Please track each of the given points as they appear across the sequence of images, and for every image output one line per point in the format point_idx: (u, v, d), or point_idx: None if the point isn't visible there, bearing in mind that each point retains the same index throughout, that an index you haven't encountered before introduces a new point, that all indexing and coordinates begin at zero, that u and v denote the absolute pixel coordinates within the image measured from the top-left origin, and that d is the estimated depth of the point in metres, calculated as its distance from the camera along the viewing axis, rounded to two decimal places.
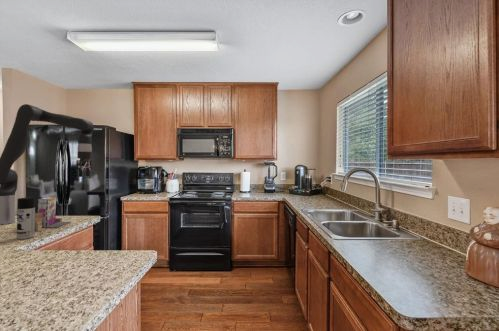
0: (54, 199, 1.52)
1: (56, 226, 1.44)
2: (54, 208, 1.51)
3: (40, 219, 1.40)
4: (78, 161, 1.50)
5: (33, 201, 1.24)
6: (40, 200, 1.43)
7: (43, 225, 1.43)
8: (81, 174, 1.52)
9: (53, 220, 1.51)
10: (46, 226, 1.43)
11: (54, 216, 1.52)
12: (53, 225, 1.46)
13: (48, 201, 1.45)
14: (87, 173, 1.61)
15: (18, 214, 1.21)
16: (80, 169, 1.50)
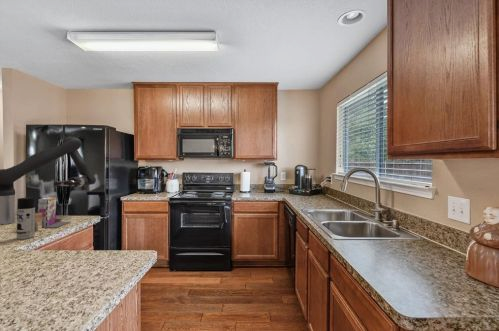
0: (54, 199, 1.52)
1: (56, 226, 1.44)
2: (54, 208, 1.51)
3: (40, 219, 1.40)
4: (81, 182, 1.72)
5: (33, 201, 1.24)
6: (40, 200, 1.43)
7: (43, 225, 1.43)
8: (71, 185, 1.64)
9: (53, 220, 1.51)
10: (46, 226, 1.43)
11: (54, 216, 1.52)
12: (53, 225, 1.46)
13: (48, 201, 1.45)
14: (57, 183, 1.63)
15: (18, 214, 1.21)
16: (77, 185, 1.67)
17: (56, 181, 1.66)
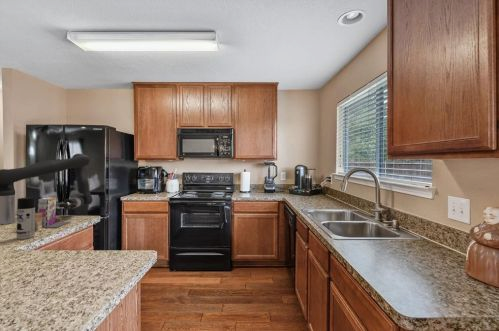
0: (54, 199, 1.52)
1: (56, 226, 1.44)
2: (54, 208, 1.51)
3: (40, 219, 1.40)
4: (77, 204, 1.68)
5: (33, 201, 1.24)
6: (40, 200, 1.43)
7: (43, 225, 1.43)
8: (67, 208, 1.60)
9: (53, 220, 1.51)
10: (46, 226, 1.43)
11: (54, 216, 1.52)
12: (53, 225, 1.46)
13: (48, 201, 1.45)
14: None
15: (18, 214, 1.21)
16: (73, 208, 1.63)
17: None
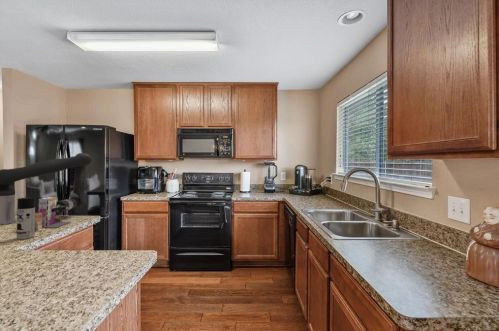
0: (55, 199, 1.52)
1: (56, 226, 1.44)
2: None
3: (40, 219, 1.40)
4: (67, 207, 1.57)
5: (33, 201, 1.24)
6: (41, 200, 1.43)
7: (43, 224, 1.43)
8: (54, 211, 1.49)
9: (53, 220, 1.51)
10: (46, 226, 1.43)
11: (54, 216, 1.52)
12: (53, 225, 1.46)
13: (49, 201, 1.45)
14: None
15: (18, 214, 1.21)
16: (61, 211, 1.53)
17: None
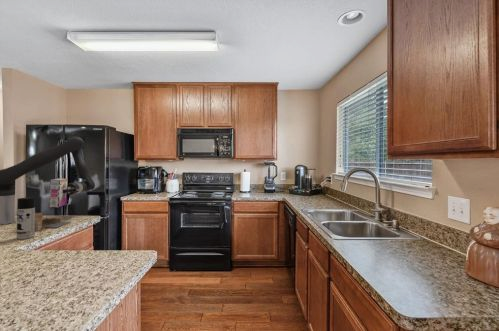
0: (66, 180, 1.52)
1: (56, 226, 1.44)
2: None
3: (40, 219, 1.40)
4: (78, 189, 1.58)
5: (33, 201, 1.24)
6: (52, 180, 1.43)
7: (55, 205, 1.44)
8: (65, 192, 1.50)
9: (64, 201, 1.52)
10: (46, 226, 1.43)
11: (65, 197, 1.53)
12: (53, 225, 1.46)
13: (60, 182, 1.45)
14: None
15: (18, 214, 1.21)
16: (72, 192, 1.53)
17: None
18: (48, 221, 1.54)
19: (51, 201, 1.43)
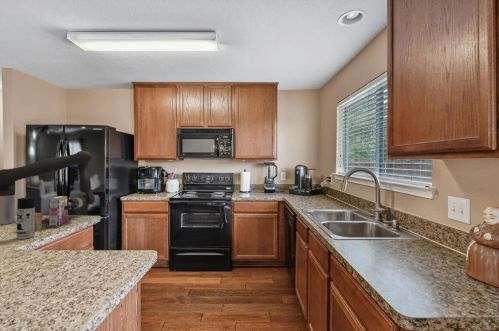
0: (65, 198, 1.52)
1: (56, 226, 1.44)
2: None
3: (40, 219, 1.40)
4: (78, 205, 1.58)
5: (33, 201, 1.24)
6: (52, 199, 1.43)
7: (54, 223, 1.44)
8: (67, 208, 1.50)
9: (64, 219, 1.52)
10: (46, 226, 1.43)
11: (65, 215, 1.53)
12: None
13: (59, 200, 1.45)
14: None
15: (18, 214, 1.21)
16: (74, 208, 1.53)
17: None
18: (48, 221, 1.54)
19: (51, 220, 1.43)
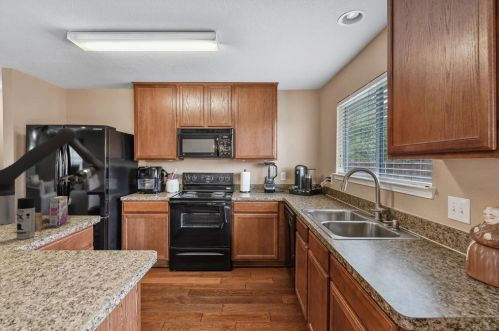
0: (65, 198, 1.52)
1: (56, 226, 1.44)
2: (65, 207, 1.52)
3: (40, 219, 1.40)
4: (85, 180, 1.68)
5: (33, 201, 1.24)
6: (52, 199, 1.43)
7: (54, 223, 1.44)
8: (73, 185, 1.61)
9: (64, 219, 1.52)
10: (46, 226, 1.43)
11: (65, 215, 1.53)
12: None
13: (60, 200, 1.45)
14: (60, 181, 1.61)
15: (18, 214, 1.21)
16: (80, 184, 1.64)
17: (61, 176, 1.64)
18: (48, 221, 1.54)
19: (51, 220, 1.43)
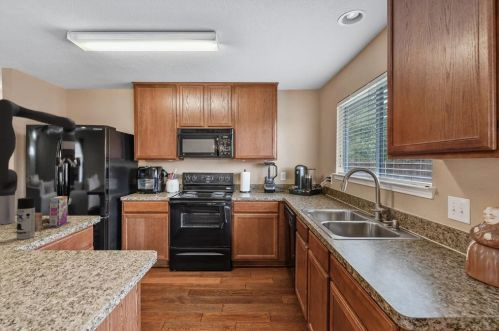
0: (65, 198, 1.52)
1: (56, 226, 1.44)
2: (65, 207, 1.52)
3: (40, 219, 1.40)
4: (79, 158, 1.66)
5: (33, 201, 1.24)
6: (52, 199, 1.43)
7: (54, 223, 1.44)
8: None
9: (64, 219, 1.52)
10: (46, 226, 1.43)
11: (65, 215, 1.53)
12: None
13: (60, 200, 1.45)
14: (61, 170, 1.64)
15: (18, 214, 1.21)
16: (80, 165, 1.67)
17: (56, 165, 1.63)
18: (48, 221, 1.54)
19: (51, 220, 1.43)
